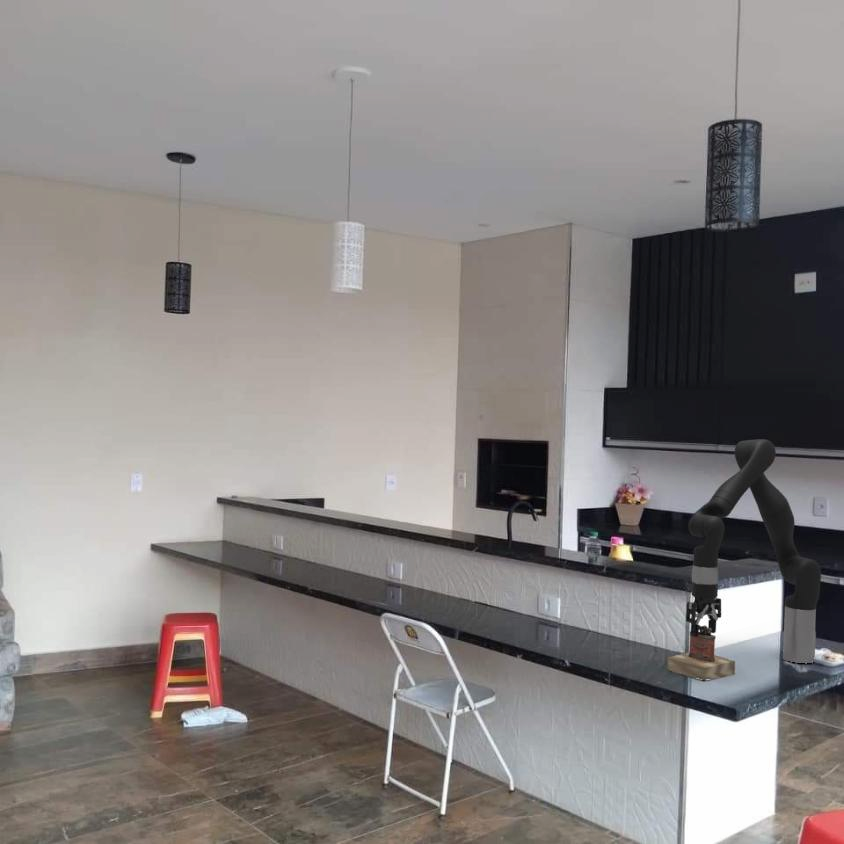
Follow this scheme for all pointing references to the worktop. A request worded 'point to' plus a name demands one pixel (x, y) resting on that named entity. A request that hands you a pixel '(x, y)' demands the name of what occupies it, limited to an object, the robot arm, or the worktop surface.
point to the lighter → (703, 645)
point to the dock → (701, 667)
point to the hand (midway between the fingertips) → (703, 634)
